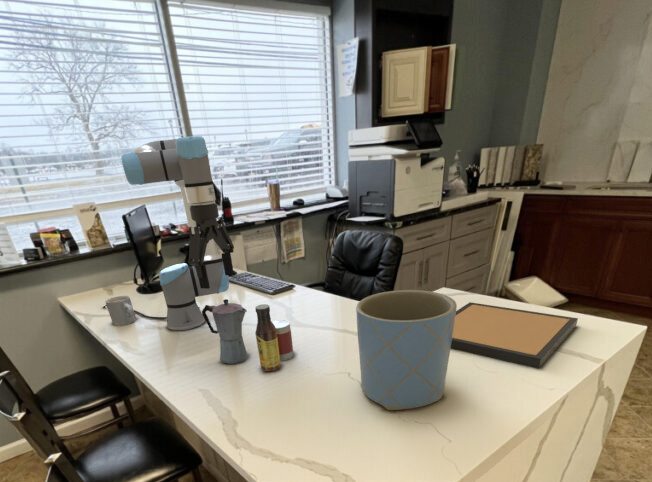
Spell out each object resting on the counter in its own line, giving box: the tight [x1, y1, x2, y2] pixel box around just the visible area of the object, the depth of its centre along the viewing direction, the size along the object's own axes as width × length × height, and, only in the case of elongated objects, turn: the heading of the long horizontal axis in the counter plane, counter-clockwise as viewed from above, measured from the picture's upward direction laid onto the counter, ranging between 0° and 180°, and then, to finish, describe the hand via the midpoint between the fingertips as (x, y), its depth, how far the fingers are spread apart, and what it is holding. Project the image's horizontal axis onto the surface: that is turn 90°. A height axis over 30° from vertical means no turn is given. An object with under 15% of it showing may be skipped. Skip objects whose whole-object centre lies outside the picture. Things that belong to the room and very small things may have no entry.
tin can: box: [271, 319, 294, 361], centre depth 130 cm, size 7×7×11 cm
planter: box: [355, 289, 458, 411], centre depth 101 cm, size 23×23×24 cm
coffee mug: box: [105, 295, 137, 326], centre depth 176 cm, size 13×10×10 cm
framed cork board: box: [450, 301, 579, 369], centre depth 132 cm, size 36×3×35 cm
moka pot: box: [201, 299, 248, 365], centre depth 130 cm, size 10×15×20 cm, turn 79°
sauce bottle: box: [255, 303, 281, 372], centre depth 121 cm, size 6×6×20 cm
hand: (218, 281), depth 122 cm, fingers open, 13 cm apart
